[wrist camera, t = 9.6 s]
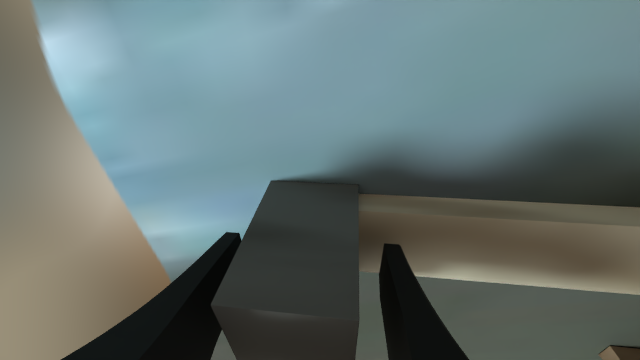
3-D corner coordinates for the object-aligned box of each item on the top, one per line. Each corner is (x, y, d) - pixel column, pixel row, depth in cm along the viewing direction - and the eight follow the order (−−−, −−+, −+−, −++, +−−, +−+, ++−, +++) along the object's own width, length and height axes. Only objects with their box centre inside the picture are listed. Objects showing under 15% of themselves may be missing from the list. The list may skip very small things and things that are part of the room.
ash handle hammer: (617, 278, 13) (780, 450, 8) (283, 252, 15) (245, 377, 10) (697, 199, 10) (1029, 391, 5) (271, 180, 12) (210, 304, 7)
